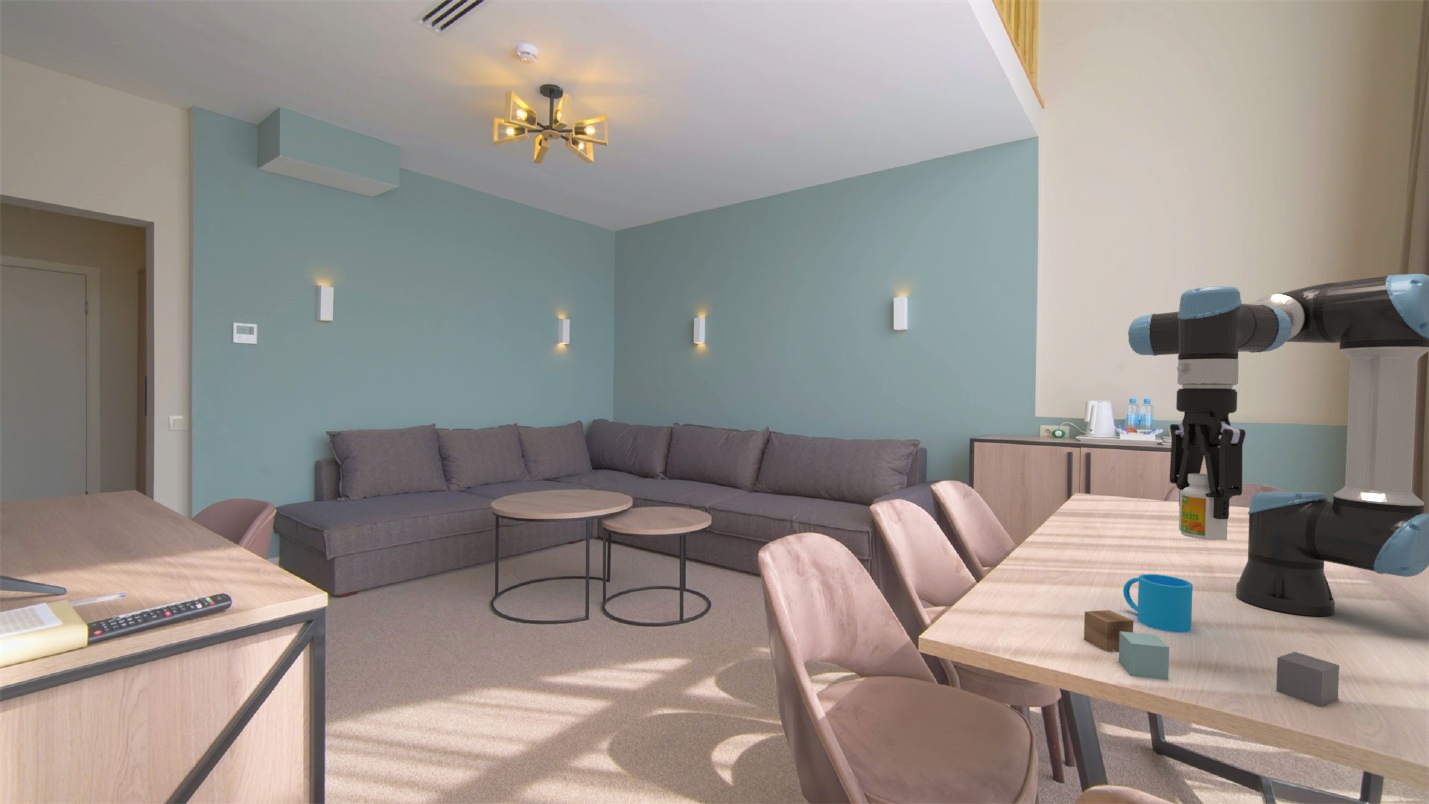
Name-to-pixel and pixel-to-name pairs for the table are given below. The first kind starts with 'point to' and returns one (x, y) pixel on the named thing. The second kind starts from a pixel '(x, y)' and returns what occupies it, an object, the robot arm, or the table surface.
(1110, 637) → the walnut cube
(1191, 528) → the supplement bottle
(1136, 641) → the teal cube
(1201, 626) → the table surface
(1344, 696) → the table surface
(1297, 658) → the charcoal cube
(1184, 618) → the mug
